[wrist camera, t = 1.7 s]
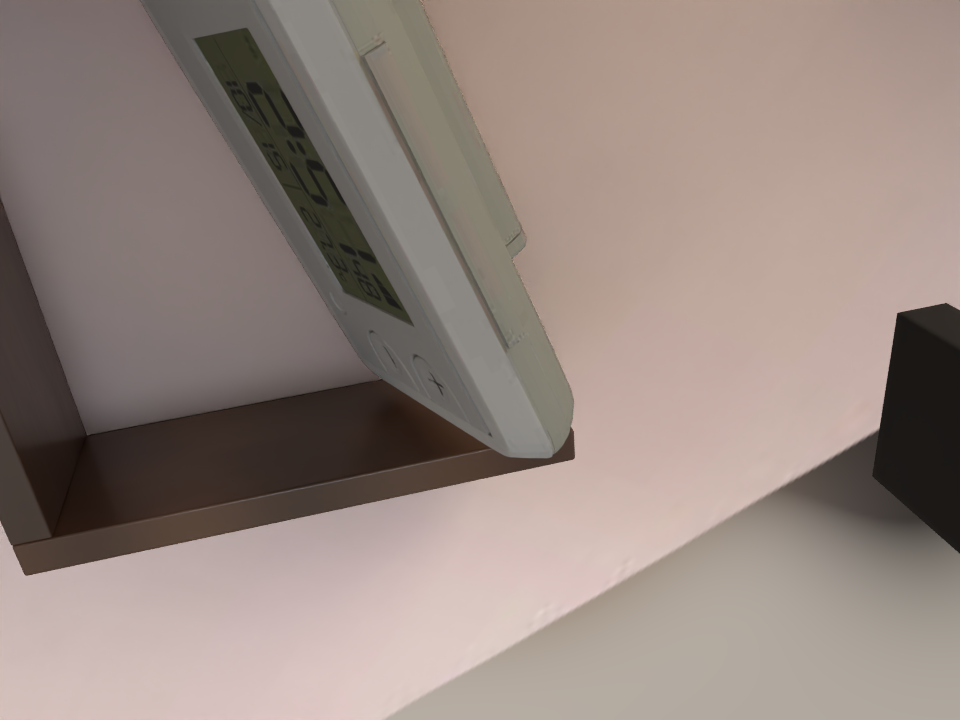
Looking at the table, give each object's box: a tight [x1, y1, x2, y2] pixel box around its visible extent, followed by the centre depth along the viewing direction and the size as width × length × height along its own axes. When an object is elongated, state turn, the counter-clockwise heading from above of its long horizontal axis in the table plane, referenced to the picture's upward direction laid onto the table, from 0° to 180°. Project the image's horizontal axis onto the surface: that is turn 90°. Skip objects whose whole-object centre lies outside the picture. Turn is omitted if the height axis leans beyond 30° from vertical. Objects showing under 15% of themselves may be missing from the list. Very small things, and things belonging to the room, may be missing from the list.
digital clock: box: [140, 0, 574, 458], centre depth 24 cm, size 16×9×11 cm, turn 13°
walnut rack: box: [0, 200, 575, 576], centre depth 25 cm, size 18×20×6 cm
